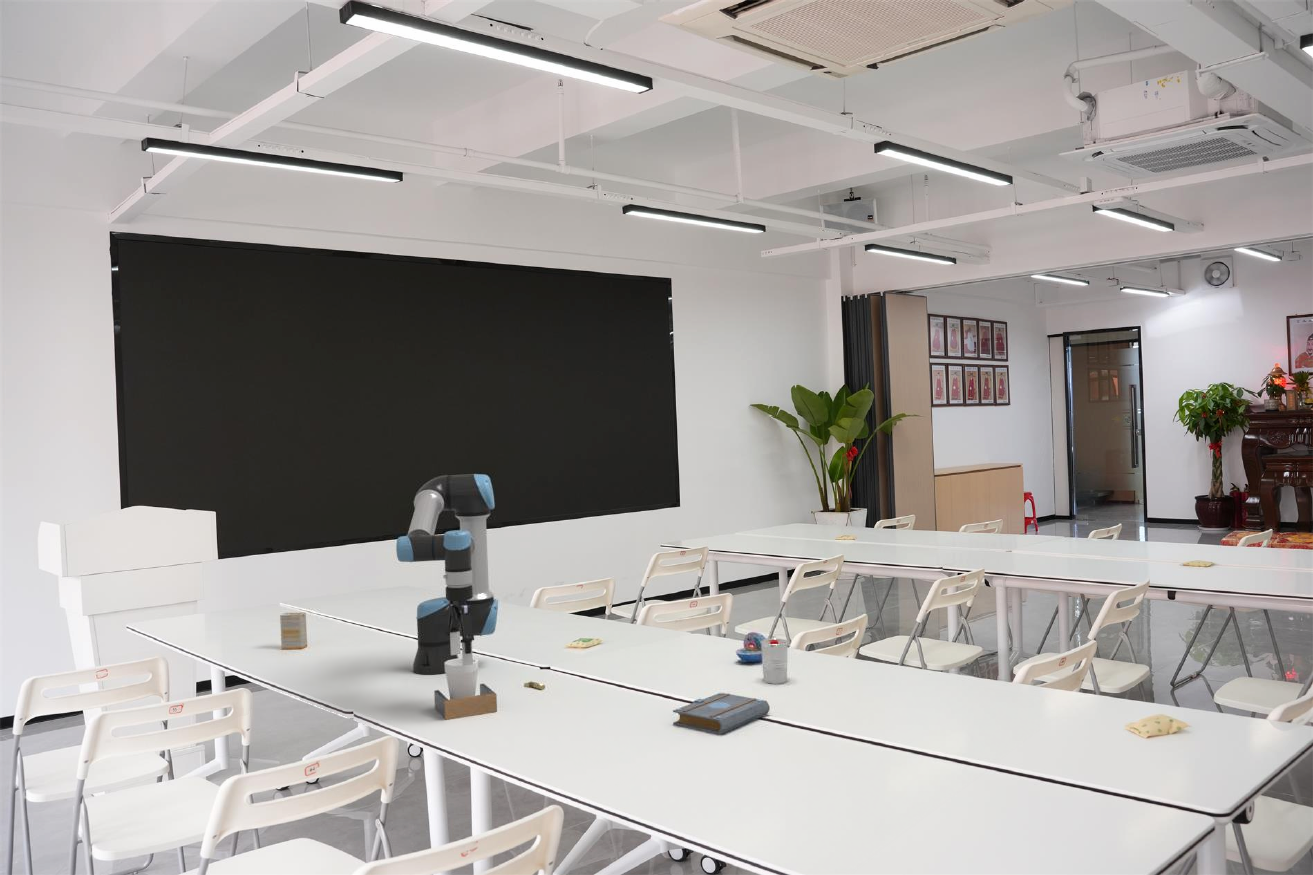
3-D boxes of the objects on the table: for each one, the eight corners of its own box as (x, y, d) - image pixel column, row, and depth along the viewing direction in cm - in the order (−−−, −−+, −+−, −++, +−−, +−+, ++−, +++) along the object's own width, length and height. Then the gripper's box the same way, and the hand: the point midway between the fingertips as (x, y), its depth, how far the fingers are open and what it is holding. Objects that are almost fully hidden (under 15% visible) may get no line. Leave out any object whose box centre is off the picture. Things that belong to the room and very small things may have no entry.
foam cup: (450, 713, 270) (449, 667, 270) (442, 706, 278) (440, 660, 278) (483, 708, 274) (482, 662, 274) (474, 701, 282) (472, 656, 282)
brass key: (524, 686, 297) (524, 681, 297) (530, 685, 299) (530, 679, 299) (539, 690, 292) (539, 685, 292) (546, 689, 294) (545, 683, 294)
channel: (434, 708, 276) (434, 690, 276) (484, 700, 282) (483, 683, 282) (445, 719, 264) (445, 701, 264) (497, 711, 270) (496, 693, 270)
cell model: (729, 663, 319) (728, 634, 319) (752, 656, 327) (751, 628, 327) (752, 667, 312) (751, 637, 312) (775, 660, 320) (774, 631, 320)
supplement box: (307, 646, 368) (306, 612, 368) (301, 649, 363) (300, 614, 363) (286, 646, 368) (285, 612, 368) (280, 649, 364) (279, 614, 364)
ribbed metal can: (795, 678, 296) (794, 639, 296) (787, 685, 288) (785, 645, 288) (764, 676, 300) (762, 637, 300) (755, 683, 292) (753, 643, 292)
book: (723, 737, 243) (722, 717, 243) (672, 726, 253) (671, 706, 253) (769, 716, 259) (769, 698, 259) (720, 707, 269) (719, 689, 269)
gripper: (435, 580, 285) (438, 652, 286) (456, 593, 263) (459, 671, 263) (461, 577, 289) (463, 648, 289) (483, 590, 266) (486, 667, 267)
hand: (461, 659), depth 276 cm, fingers open, 13 cm apart
